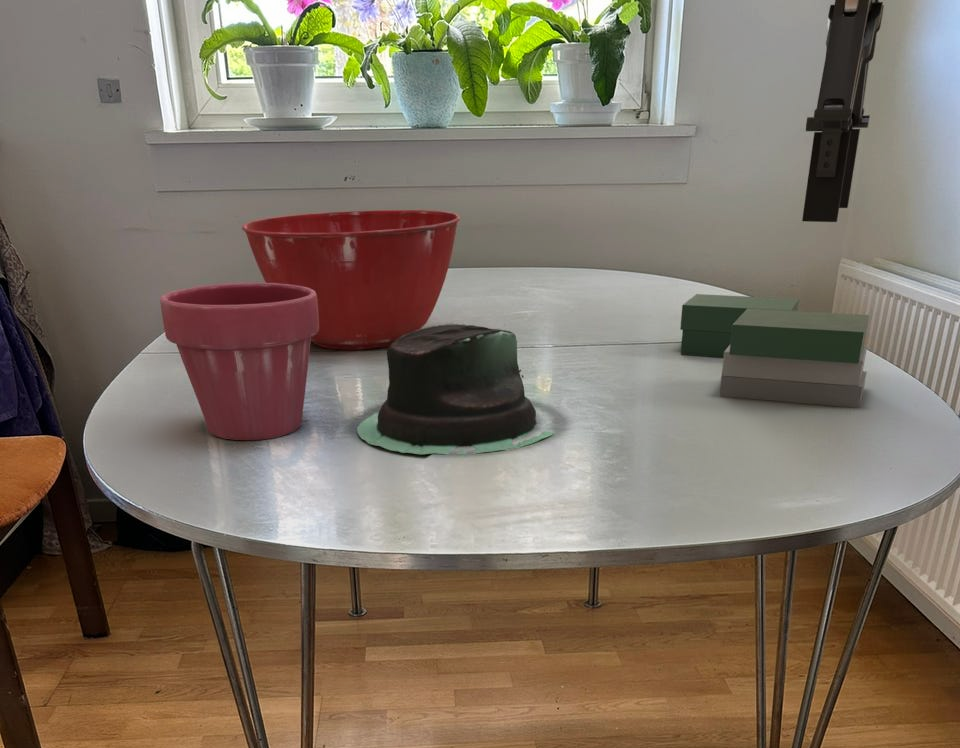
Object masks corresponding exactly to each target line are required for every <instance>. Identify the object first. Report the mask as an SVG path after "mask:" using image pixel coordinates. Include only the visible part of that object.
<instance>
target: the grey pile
mask: <svg viewBox="0 0 960 748" xmlns="http://www.w3.org/2000/svg"><path fill="white" fill-rule="evenodd" d="M867 349H868V347H867V346H864V347H863V350H862V353H861V357H860V360H859V363H858V364H857V363H843V362H828V361H814V360H799V359H785V358H770V357H756V356H741V355H729V352H730V346H729V347H728V348H727V349H726V350H725V351H724V357H722V358H723V359H722V368H721V376H720V385H719V386H720V387H719V395H718V396H719V397H726V398H738V399H750V400H764V401H774V402H784V403H785V402H787V403H797V404H798V403H799V404H809V405H810V404H811V405H820V406H821V405H822V406H832V407H846V408H857V409H859V408H860V406H861V402H862V397H863V394H864V390H865V384H866V378H867V372H868V371H865V370H864V366H865V361H866V355H867V351H868V350H867Z"/></svg>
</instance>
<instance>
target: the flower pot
mask: <svg viewBox="0 0 960 748" xmlns="http://www.w3.org/2000/svg"><path fill="white" fill-rule="evenodd" d="M159 302H160V311H161V317H162V318H161V319H162V324H163V330H164V334H165V338H166V340H168V342H170V343H172V344H175V345H176V347H177V350H178V353H179V355H180V358H181V361H182V363H183V366H184V370H185V371H186V374H187V377H188V379H189V381H190V384H191V387H192V389H193V393H194V394H195V398H196V400H197V402H198V405H199V407H200V410H201V413H202V416H203V418H204V421H205V423H206V426H207V429H208V432H209V433H210V434H211V435H213V436H215V437H217V438H220V439H221V438H222V439H226V440H235V441H258V440H259V441H260V440H267V439H274V438H278V437H282V436H286V435H288V434H291V433H294V432H295V431H297V430H299V428H300V427H301V425H302V423H303V413H304V406H305V405H304V404H305V396H306V387H307V381H308V380H307V379H308V378H307V377H308V370H309V359H310V350H311V342H312V341H311V337H312V336H314V335H316V334H317V333H318V331H319V316H318V303H317V295H316V292H315V291H314V290H312V289H310V288H307V287H303V286H297V285H289V284H278V283H266V282H232V283H219V284H218V283H217V284H210V285H200V286H194V287H188V288H183V289H178V290H177V289H176V290H174V291H170V292H167V293H165V294H163V295H162V296H160V299H159Z"/></svg>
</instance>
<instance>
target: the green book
mask: <svg viewBox="0 0 960 748" xmlns="http://www.w3.org/2000/svg"><path fill="white" fill-rule="evenodd" d="M869 320H870V314H862V313H861V314H857V313H843V312H842V313H839V312H821V311H800V310H798V311H784V310H765V309H747V310H746V311H745V312H744V313H743V314H742V315H741V316H740V317H739V318H738V319H737V320H736V322H735V323H734V324H733V325H732V334H731V343H730V352H729V355H741V356H756V357H770V358H785V359H799V360H814V361H828V362H843V363H857V364H858V363H859V360H860V357H861V353H862V350H863V347H865V343H866V337H867V331H868V325H869Z"/></svg>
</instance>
